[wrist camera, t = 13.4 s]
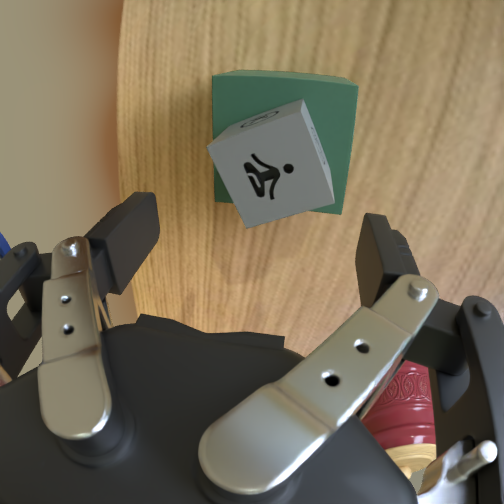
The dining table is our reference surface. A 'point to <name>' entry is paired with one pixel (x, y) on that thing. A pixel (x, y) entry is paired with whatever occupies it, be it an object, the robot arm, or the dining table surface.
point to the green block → (283, 92)
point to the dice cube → (273, 165)
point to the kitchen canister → (405, 419)
